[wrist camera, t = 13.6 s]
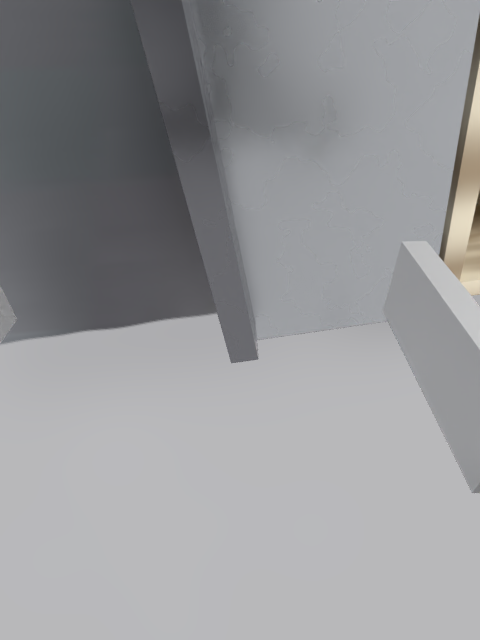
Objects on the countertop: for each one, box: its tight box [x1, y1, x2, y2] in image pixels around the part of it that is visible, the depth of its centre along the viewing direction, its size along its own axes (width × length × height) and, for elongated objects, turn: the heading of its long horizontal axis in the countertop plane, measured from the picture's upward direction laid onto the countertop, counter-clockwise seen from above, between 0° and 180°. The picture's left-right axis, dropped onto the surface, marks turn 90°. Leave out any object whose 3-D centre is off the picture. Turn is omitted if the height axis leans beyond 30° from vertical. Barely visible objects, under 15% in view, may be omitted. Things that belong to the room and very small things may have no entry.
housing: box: [439, 14, 480, 296], centre depth 22 cm, size 20×28×13 cm
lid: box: [130, 0, 480, 363], centre depth 18 cm, size 20×12×4 cm, turn 10°
